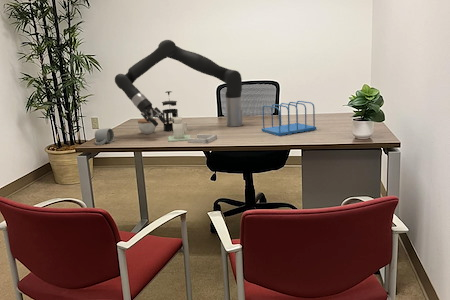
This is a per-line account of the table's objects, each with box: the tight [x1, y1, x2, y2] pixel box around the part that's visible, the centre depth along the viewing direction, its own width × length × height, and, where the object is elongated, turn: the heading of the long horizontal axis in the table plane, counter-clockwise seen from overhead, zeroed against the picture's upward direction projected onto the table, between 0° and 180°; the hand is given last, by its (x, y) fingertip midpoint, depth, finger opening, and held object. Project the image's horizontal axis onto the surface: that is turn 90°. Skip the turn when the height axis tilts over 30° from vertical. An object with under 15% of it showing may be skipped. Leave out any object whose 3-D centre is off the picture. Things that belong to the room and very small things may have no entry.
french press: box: [161, 90, 179, 132], centre depth 267 cm, size 12×9×23 cm
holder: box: [187, 133, 218, 144], centre depth 235 cm, size 11×11×2 cm
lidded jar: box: [137, 117, 157, 135], centre depth 262 cm, size 11×11×9 cm
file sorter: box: [261, 100, 317, 137], centre depth 248 cm, size 25×17×15 cm
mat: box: [167, 134, 192, 143], centre depth 243 cm, size 12×12×1 cm
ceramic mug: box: [94, 127, 115, 146], centre depth 240 cm, size 11×8×8 cm
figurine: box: [171, 116, 188, 139], centre depth 241 cm, size 8×6×11 cm
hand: (161, 123), depth 245 cm, fingers open, 8 cm apart
